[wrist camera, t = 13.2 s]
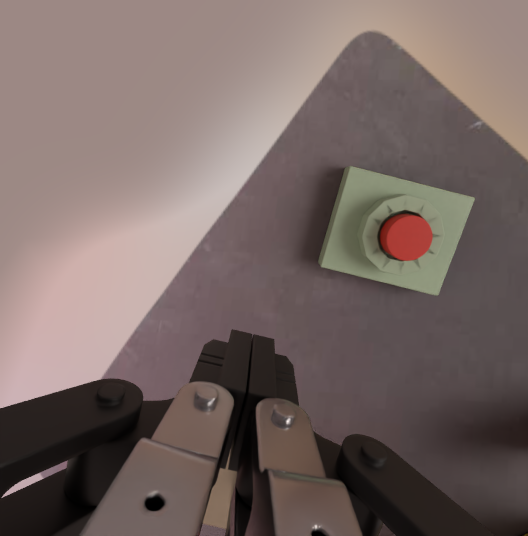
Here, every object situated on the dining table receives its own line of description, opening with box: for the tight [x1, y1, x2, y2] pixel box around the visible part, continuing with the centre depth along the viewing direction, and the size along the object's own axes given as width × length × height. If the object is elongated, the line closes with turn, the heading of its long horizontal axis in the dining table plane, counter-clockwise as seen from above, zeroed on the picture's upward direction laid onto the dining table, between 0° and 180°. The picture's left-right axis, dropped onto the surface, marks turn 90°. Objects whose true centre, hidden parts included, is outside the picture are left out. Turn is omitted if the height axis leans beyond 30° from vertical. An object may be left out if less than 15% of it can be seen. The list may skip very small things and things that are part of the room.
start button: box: [380, 214, 433, 261], centre depth 28 cm, size 4×4×2 cm
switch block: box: [318, 166, 475, 296], centre depth 30 cm, size 11×9×4 cm
